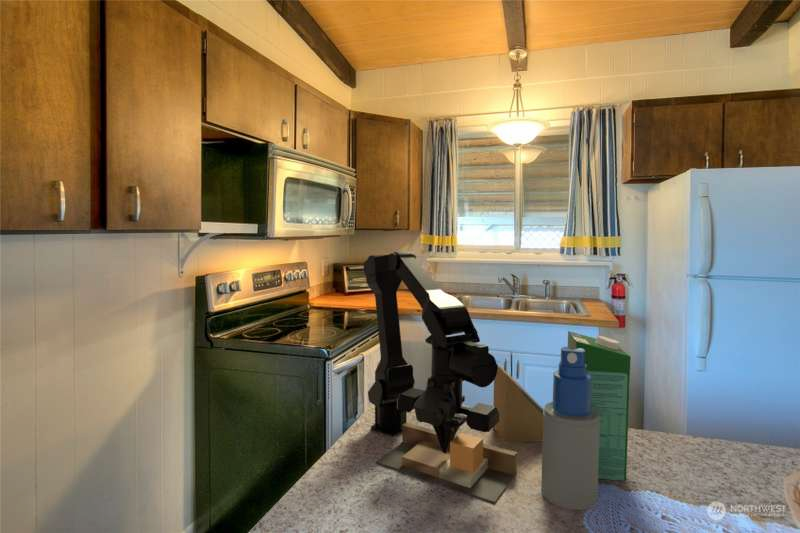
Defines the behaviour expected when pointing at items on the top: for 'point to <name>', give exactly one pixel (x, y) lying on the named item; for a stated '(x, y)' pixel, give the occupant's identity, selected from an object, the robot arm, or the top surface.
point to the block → (466, 452)
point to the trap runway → (433, 465)
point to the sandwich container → (516, 410)
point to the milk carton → (608, 399)
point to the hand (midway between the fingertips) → (445, 452)
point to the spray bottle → (571, 436)
